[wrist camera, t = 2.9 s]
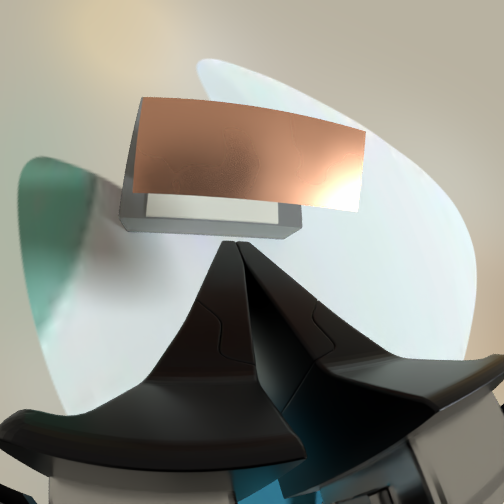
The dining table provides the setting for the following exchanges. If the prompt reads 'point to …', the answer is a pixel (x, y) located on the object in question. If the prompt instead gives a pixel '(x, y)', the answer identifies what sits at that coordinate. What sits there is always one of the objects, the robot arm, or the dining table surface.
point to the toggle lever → (246, 154)
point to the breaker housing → (202, 211)
